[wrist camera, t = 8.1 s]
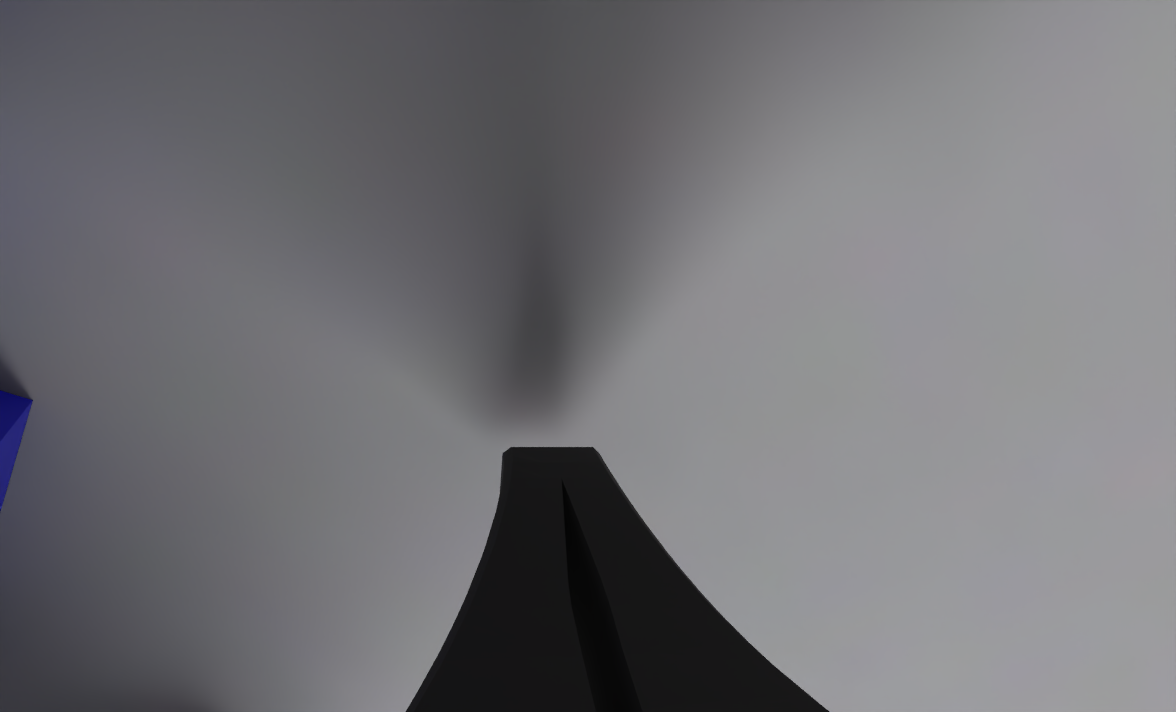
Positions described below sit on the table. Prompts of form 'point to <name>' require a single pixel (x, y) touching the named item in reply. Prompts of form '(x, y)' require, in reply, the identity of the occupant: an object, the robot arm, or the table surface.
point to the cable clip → (10, 434)
